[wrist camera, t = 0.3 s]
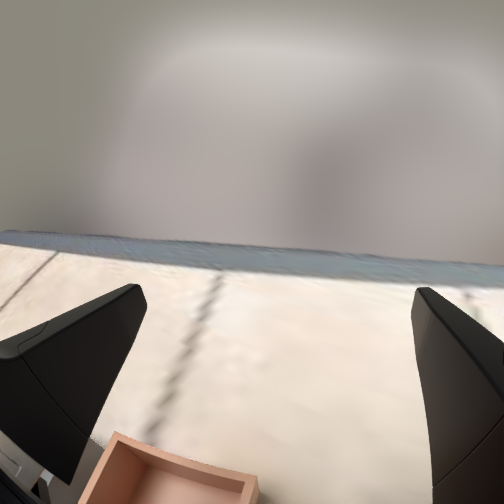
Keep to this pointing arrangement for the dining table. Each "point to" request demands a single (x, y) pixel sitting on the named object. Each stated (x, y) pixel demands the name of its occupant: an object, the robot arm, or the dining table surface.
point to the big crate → (69, 496)
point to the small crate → (162, 478)
